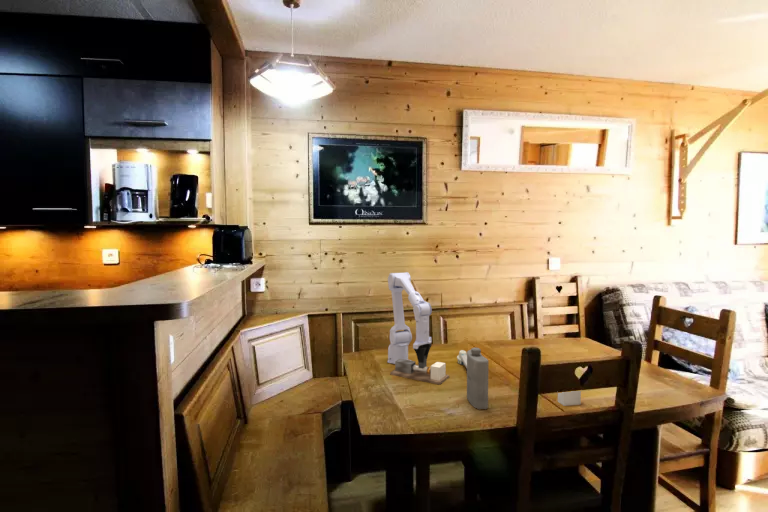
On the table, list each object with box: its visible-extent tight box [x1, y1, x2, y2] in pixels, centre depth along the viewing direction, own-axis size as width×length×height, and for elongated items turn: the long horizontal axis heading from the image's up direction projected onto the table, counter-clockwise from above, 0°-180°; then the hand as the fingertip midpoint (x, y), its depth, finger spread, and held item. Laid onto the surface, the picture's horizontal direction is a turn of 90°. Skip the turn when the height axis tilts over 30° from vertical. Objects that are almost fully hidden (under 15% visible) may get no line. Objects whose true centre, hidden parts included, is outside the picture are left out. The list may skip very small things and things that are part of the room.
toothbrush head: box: [456, 349, 467, 369], centre depth 181 cm, size 5×7×25 cm
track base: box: [389, 359, 450, 386], centre depth 174 cm, size 24×10×5 cm, turn 59°
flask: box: [466, 347, 489, 410], centre depth 146 cm, size 15×6×20 cm, turn 2°
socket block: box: [430, 361, 447, 381], centre depth 169 cm, size 4×7×6 cm, turn 149°
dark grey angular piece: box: [412, 355, 431, 375], centre depth 174 cm, size 14×3×8 cm, turn 59°
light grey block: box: [557, 390, 582, 407], centre depth 145 cm, size 4×7×10 cm, turn 99°
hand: (422, 361), depth 172 cm, fingers closed on dark grey angular piece, 3 cm apart
